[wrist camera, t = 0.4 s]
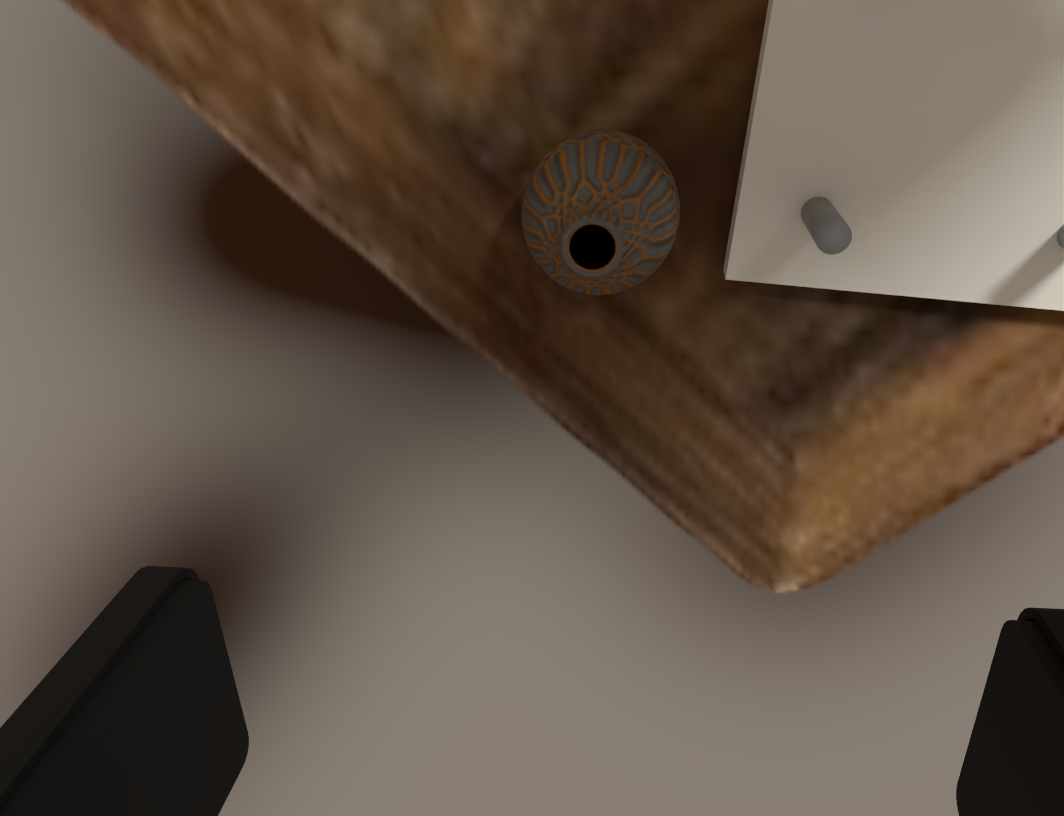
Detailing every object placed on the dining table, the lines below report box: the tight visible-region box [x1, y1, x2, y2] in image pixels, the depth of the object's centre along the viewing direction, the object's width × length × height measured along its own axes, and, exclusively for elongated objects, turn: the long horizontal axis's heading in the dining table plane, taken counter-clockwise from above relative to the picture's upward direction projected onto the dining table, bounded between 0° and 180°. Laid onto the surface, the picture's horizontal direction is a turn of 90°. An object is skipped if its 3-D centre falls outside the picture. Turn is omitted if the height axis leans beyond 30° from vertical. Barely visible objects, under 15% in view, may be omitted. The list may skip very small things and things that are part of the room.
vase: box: [521, 129, 680, 295], centre depth 35 cm, size 7×7×9 cm
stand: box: [723, 0, 1064, 311], centre depth 33 cm, size 18×18×6 cm
